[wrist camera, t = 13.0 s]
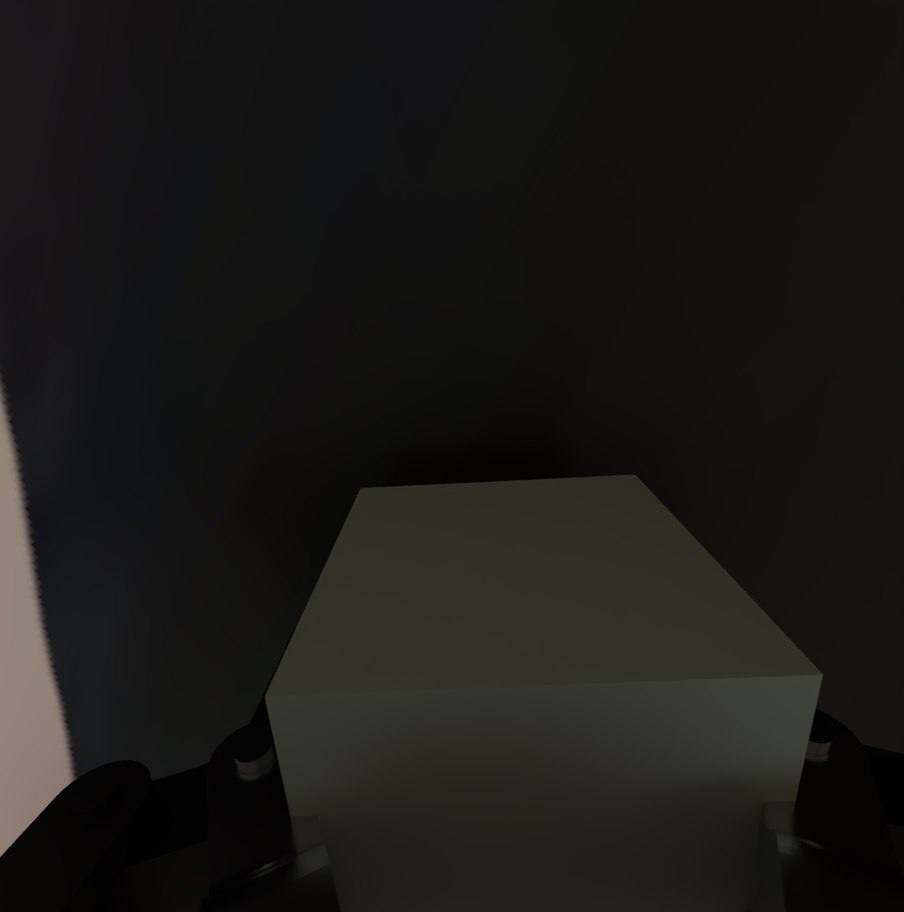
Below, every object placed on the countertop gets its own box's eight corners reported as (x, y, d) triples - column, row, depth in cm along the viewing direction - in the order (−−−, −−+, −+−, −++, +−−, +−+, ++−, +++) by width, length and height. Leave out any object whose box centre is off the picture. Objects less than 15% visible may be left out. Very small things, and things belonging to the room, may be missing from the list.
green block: (360, 488, 11) (264, 696, 6) (635, 474, 11) (823, 674, 5) (387, 704, 13) (335, 1022, 8) (621, 694, 13) (749, 1012, 7)
